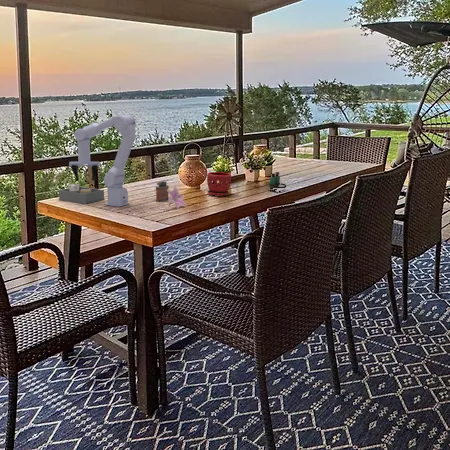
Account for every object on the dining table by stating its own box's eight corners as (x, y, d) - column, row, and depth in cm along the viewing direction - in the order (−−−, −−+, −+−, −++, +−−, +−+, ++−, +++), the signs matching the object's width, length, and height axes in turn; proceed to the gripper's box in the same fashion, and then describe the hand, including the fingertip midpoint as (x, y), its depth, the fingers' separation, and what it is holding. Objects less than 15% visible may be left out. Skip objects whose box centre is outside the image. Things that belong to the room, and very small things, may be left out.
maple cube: (90, 200, 258) (90, 190, 257) (80, 200, 258) (79, 190, 256) (92, 198, 263) (91, 189, 262) (81, 198, 262) (81, 189, 261)
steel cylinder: (81, 197, 265) (80, 184, 263) (76, 199, 260) (75, 185, 259) (72, 197, 266) (71, 183, 264) (67, 198, 261) (66, 185, 260)
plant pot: (217, 198, 273) (217, 175, 270) (202, 194, 282) (202, 172, 279) (235, 195, 281) (236, 173, 278) (220, 191, 290) (220, 170, 287)
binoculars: (283, 176, 286) (267, 172, 291) (280, 194, 289) (265, 190, 294) (291, 174, 293) (275, 171, 298) (288, 192, 296) (273, 188, 301)
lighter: (165, 199, 269) (165, 180, 266) (170, 199, 267) (170, 180, 264) (154, 201, 263) (154, 181, 260) (159, 202, 261) (158, 182, 258)
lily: (164, 212, 244) (173, 196, 240) (155, 198, 252) (164, 182, 248) (184, 217, 251) (194, 201, 248) (176, 203, 259) (184, 188, 256)
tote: (104, 199, 264) (103, 189, 263) (85, 204, 253) (85, 194, 252) (78, 195, 272) (78, 186, 271) (59, 200, 261) (58, 190, 260)
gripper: (67, 154, 250) (69, 181, 253) (98, 154, 252) (99, 181, 255) (70, 152, 257) (71, 179, 260) (99, 152, 258) (100, 179, 262)
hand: (85, 180), depth 258 cm, fingers open, 7 cm apart
